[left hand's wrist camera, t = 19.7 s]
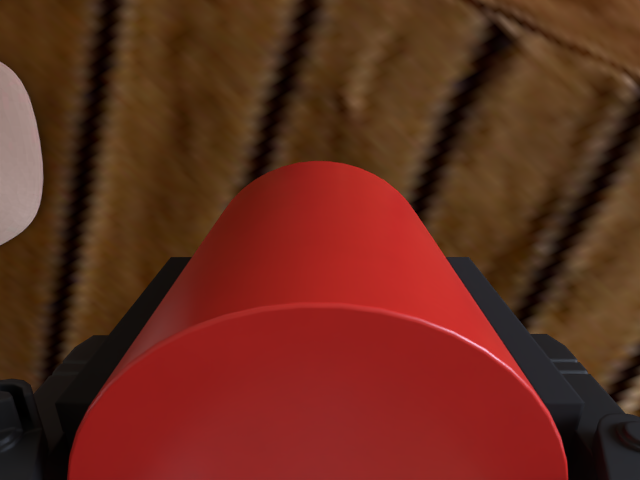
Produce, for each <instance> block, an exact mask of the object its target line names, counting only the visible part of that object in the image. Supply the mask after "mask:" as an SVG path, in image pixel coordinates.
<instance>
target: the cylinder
mask: <svg viewBox="0 0 640 480" xmlns="http://www.w3.org/2000/svg"><path fill="white" fill-rule="evenodd" d="M67 480H568V467H567V459H566V455H565V451H564V447H563V443H562V439H561V436H560V434H559V431H558V429H557V427H556V425H555V423H554V421H553V418H552V416H551V414H550V412H549V411H548V409H547V408H546V406H545V405H544V403H543V402H542V400H541V399H540V397H539V396H538V394H537V393H536V391H535V390H534V388H533V387H532V385H531V384H530V382H529V381H528V379H527V378H526V376H525V375H524V373H523V372H522V370H521V369H520V367H519V366H518V364H517V363H516V361H515V360H514V358H513V357H512V355H511V354H510V353H509V351H508V350H507V348H506V347H505V345H504V344H503V342H502V341H501V339H500V338H499V336H498V335H497V333H496V332H495V330H494V329H493V327H492V326H491V324H490V323H489V321H488V320H487V318H486V317H485V315H484V314H483V312H482V311H481V309H480V308H479V306H478V305H477V303H476V302H475V300H474V299H473V297H472V296H471V295H470V293H469V292H468V290H467V289H466V287H465V286H464V284H463V283H462V281H461V280H460V278H459V277H458V275H457V274H456V272H455V271H454V269H453V268H452V266H451V265H450V263H449V262H448V260H447V259H446V257H445V256H444V254H443V253H442V251H441V250H440V248H439V247H438V245H437V244H436V242H435V241H434V239H433V238H432V236H431V235H430V234H429V232H428V231H427V229H426V228H425V226H424V225H423V223H422V222H421V220H420V219H419V217H418V216H417V214H416V213H415V211H414V210H413V208H412V207H411V206H410V204H409V203H408V201H407V200H406V199H405V198H404V197H403V196H402V195H401V194H400V193H399V192H398V191H397V190H396V189H395V188H393V187H392V186H391V185H390V184H388V183H387V182H386V181H384V180H382V179H381V178H379V177H378V176H376V175H374V174H372V173H370V172H368V171H365V170H363V169H361V168H358V167H354V166H351V165H347V164H343V163H336V162H329V161H310V162H302V163H295V164H291V165H287V166H284V167H281V168H278V169H276V170H273V171H271V172H268V173H266V174H264V175H263V176H261V177H259V178H257V179H256V180H254V181H253V182H251V183H250V184H249V185H247V186H246V187H245V188H244V189H242V190H241V191H240V192H239V193H238V194H237V195H236V196H235V197H234V198H233V199H232V201H231V202H230V204H229V205H228V206H227V208H226V209H225V210H224V212H223V213H222V215H221V216H220V217H219V219H218V220H217V222H216V223H215V225H214V226H213V228H212V229H211V230H210V232H209V233H208V235H207V236H206V238H205V239H204V241H203V242H202V243H201V245H200V246H199V248H198V249H197V251H196V252H195V254H194V255H193V257H192V258H191V259H190V261H189V262H188V264H187V265H186V267H185V268H184V270H183V271H182V272H181V274H180V275H179V277H178V278H177V280H176V281H175V283H174V284H173V285H172V287H171V288H170V290H169V291H168V293H167V294H166V296H165V297H164V299H163V300H162V301H161V303H160V304H159V306H158V307H157V309H156V310H155V312H154V313H153V314H152V316H151V317H150V319H149V320H148V322H147V323H146V325H145V326H144V327H143V329H142V330H141V332H140V333H139V335H138V336H137V338H136V339H135V341H134V342H133V343H132V345H131V346H130V348H129V349H128V351H127V352H126V354H125V355H124V356H123V358H122V359H121V361H120V362H119V364H118V365H117V367H116V368H115V369H114V371H113V372H112V374H111V375H110V377H109V378H108V380H107V381H106V383H105V384H104V385H103V387H102V388H101V390H100V391H99V393H98V394H97V396H96V397H95V398H94V400H93V401H92V403H91V404H90V406H89V407H88V409H87V411H86V413H85V415H84V417H83V419H82V421H81V423H80V425H79V427H78V429H77V431H76V435H75V438H74V442H73V445H72V448H71V452H70V455H69V465H68V475H67Z"/></svg>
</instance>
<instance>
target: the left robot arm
mask: <svg viewBox="0 0 640 480" xmlns="http://www.w3.org/2000/svg"><path fill="white" fill-rule="evenodd" d="M191 258H192V257H171V258H170V259H169V260H168V262H167V263H166V264H165V265H164V267H163V268H162V269H161V270H160V272H159V273H158V274H157V275H156V277H155V278H154V279H153V280H152V282H151V283H150V284H149V285H148V287H147V288H146V289H145V290H144V292H143V293H142V294H141V295H140V297H139V298H138V299H137V301H136V302H135V303H134V304H133V306H132V307H131V308H130V309H129V311H128V312H127V313H126V314H125V316H124V317H123V318H122V319H121V321H120V322H119V323H118V324H117V326H116V327H115V328H114V329H113V331H112V332H111V333H110V334H109V335H93V336H92V337H90V338H89V339H87V340H86V341H84V342H82V343H81V344H79V345H78V346H76V347H75V348H74V349H73V350H72V351H71V352H70V354H69V355H68V356H67V357H66V358H65V359H64V360H63V364H60V365H59V366H58V367H57V368H56V369H55V370H54V372H53V375H52V376H49V377H48V378H47V380H46V381H45V382H44V383H43V384H42V385H41V386H40V387H39V389H38V390H37V391H36V392H35V393H34V394H33V391H32V388H31V385H29V384H28V383H27V382H25V381H24V380H17V379H6V380H0V480H67V475H68V465H69V455H70V452H71V448H72V445H73V442H74V438H75V435H76V431H77V429H78V427H79V425H80V423H81V421H82V419H83V417H84V415H85V413H86V411H87V409H88V407H89V406H90V404H91V403H92V401H93V400H94V398H95V397H96V396H97V394H98V393H99V391H100V390H101V388H102V387H103V385H104V384H105V383H106V381H107V380H108V378H109V377H110V375H111V374H112V372H113V371H114V369H115V368H116V367H117V365H118V364H119V362H120V361H121V359H122V358H123V356H124V355H125V354H126V352H127V351H128V349H129V348H130V346H131V345H132V343H133V342H134V341H135V339H136V338H137V336H138V335H139V333H140V332H141V330H142V329H143V327H144V326H145V325H146V323H147V322H148V320H149V319H150V317H151V316H152V314H153V313H154V312H155V310H156V309H157V307H158V306H159V304H160V303H161V301H162V300H163V299H164V297H165V296H166V294H167V293H168V291H169V290H170V288H171V287H172V285H173V284H174V283H175V281H176V280H177V278H178V277H179V275H180V274H181V272H182V271H183V270H184V268H185V267H186V265H187V264H188V262H189V261H190V259H191ZM446 259H447V260H448V262H449V263H450V265H451V266H452V268H453V269H454V271H455V272H456V274H457V275H458V277H459V278H460V280H461V281H462V283H463V284H464V286H465V287H466V289H467V290H468V292H469V293H470V295H471V296H472V297H473V299H474V300H475V302H476V303H477V305H478V306H479V308H480V309H481V311H482V312H483V314H484V315H485V317H486V318H487V320H488V321H489V323H490V324H491V326H492V327H493V329H494V330H495V332H496V333H497V335H498V336H499V338H500V339H501V341H502V342H503V344H504V345H505V347H506V348H507V350H508V351H509V353H510V354H511V355H512V357H513V358H514V360H515V361H516V363H517V364H518V366H519V367H520V369H521V370H522V372H523V373H524V375H525V376H526V378H527V379H528V381H529V382H530V384H531V385H532V387H533V388H534V390H535V391H536V393H537V394H538V396H539V397H540V399H541V400H542V402H543V403H544V405H545V406H546V408H547V409H548V411H549V412H550V414H551V416H552V418H553V421H554V423H555V425H556V427H557V429H558V431H559V434H560V436H561V439H562V443H563V447H564V451H565V455H566V459H567V467H568V480H640V417H637V416H635V415H631V414H625V413H624V412H623V410H622V409H621V408H620V407H619V406H618V405H617V404H616V403H615V401H614V400H613V399H612V398H611V397H610V396H609V395H608V394H607V392H606V391H605V390H604V389H603V388H602V387H601V386H600V385H599V383H598V382H597V381H596V380H595V379H594V378H593V377H592V376H591V374H588V373H587V370H586V369H585V368H584V367H583V365H582V364H581V363H580V362H577V359H576V358H575V356H574V355H573V354H572V353H571V352H570V351H569V350H568V349H567V347H566V346H564V345H563V344H561V343H560V342H558V341H557V340H555V339H554V338H552V337H550V336H549V335H547V334H530V333H529V332H528V331H527V330H526V328H525V327H524V326H523V325H522V323H521V322H520V321H519V320H518V318H517V317H516V316H515V315H514V313H513V312H512V311H511V310H510V308H509V307H508V306H507V305H506V303H505V302H504V301H503V300H502V298H501V297H500V296H499V295H498V293H497V292H496V291H495V290H494V288H493V287H492V286H491V284H490V283H489V282H488V281H487V279H486V278H485V277H484V276H483V274H482V273H481V272H480V271H479V269H478V268H477V267H476V266H475V264H474V263H473V262H472V261H471V259H470V258H469V257H446Z"/></svg>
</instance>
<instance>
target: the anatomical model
mask: <svg viewBox="0 0 640 480" xmlns="http://www.w3.org/2000/svg"><path fill="white" fill-rule="evenodd" d="M42 187H43V162H42V154H41V146H40V139H39V134H38V129H37V124H36V119H35V116H34V112H33V108H32V105H31V102H30V99H29V96H28V94H27V91H26V89H25V88H24V86H23V84H22V82H21V81H20V79H19V78H18V76H17V75H16V74H15V73H14V72H13V71H12V70H11V69H10V68H9V67H7V66H6V65H4V64H3V63H1V62H0V245H2V244H3V243H5V242H7V241H8V240H10V239H12V238H14V237H15V236H17V235H18V234H19V233H21V232H22V231H23V230H24V229H25V228H26V227H28V225H29V224H30V223H31V222H32V220H33V219H34V217H35V215H36V213H37V211H38V208H39V206H40V201H41V196H42Z"/></svg>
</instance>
